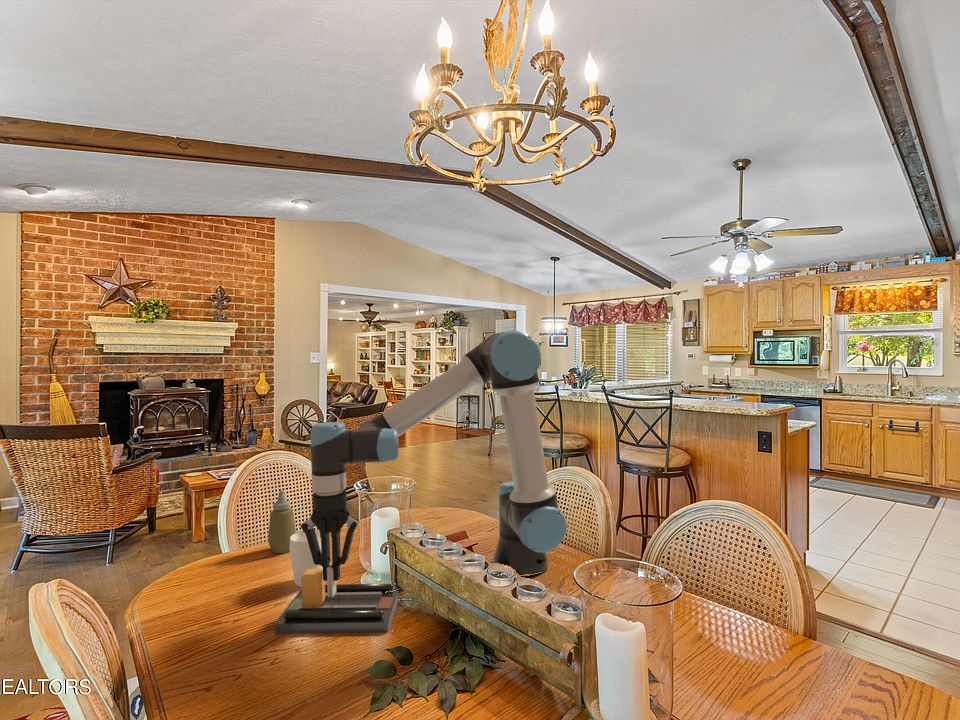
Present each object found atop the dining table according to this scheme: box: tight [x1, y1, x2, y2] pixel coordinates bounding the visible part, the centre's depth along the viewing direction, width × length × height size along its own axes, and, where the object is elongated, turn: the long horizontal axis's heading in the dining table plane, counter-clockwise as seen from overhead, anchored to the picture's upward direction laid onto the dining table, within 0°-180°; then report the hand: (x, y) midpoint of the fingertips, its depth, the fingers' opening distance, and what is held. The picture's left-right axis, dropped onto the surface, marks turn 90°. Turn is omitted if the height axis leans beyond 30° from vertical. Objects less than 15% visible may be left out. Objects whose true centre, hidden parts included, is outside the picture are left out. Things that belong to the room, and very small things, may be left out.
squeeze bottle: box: [267, 490, 297, 554], centre depth 150 cm, size 8×8×18 cm
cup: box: [289, 529, 323, 588], centre depth 129 cm, size 9×9×12 cm
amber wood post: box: [301, 569, 326, 606], centre depth 113 cm, size 4×4×7 cm
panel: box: [274, 583, 399, 634], centre depth 113 cm, size 24×16×4 cm, turn 90°
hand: (332, 593), depth 113 cm, fingers closed
